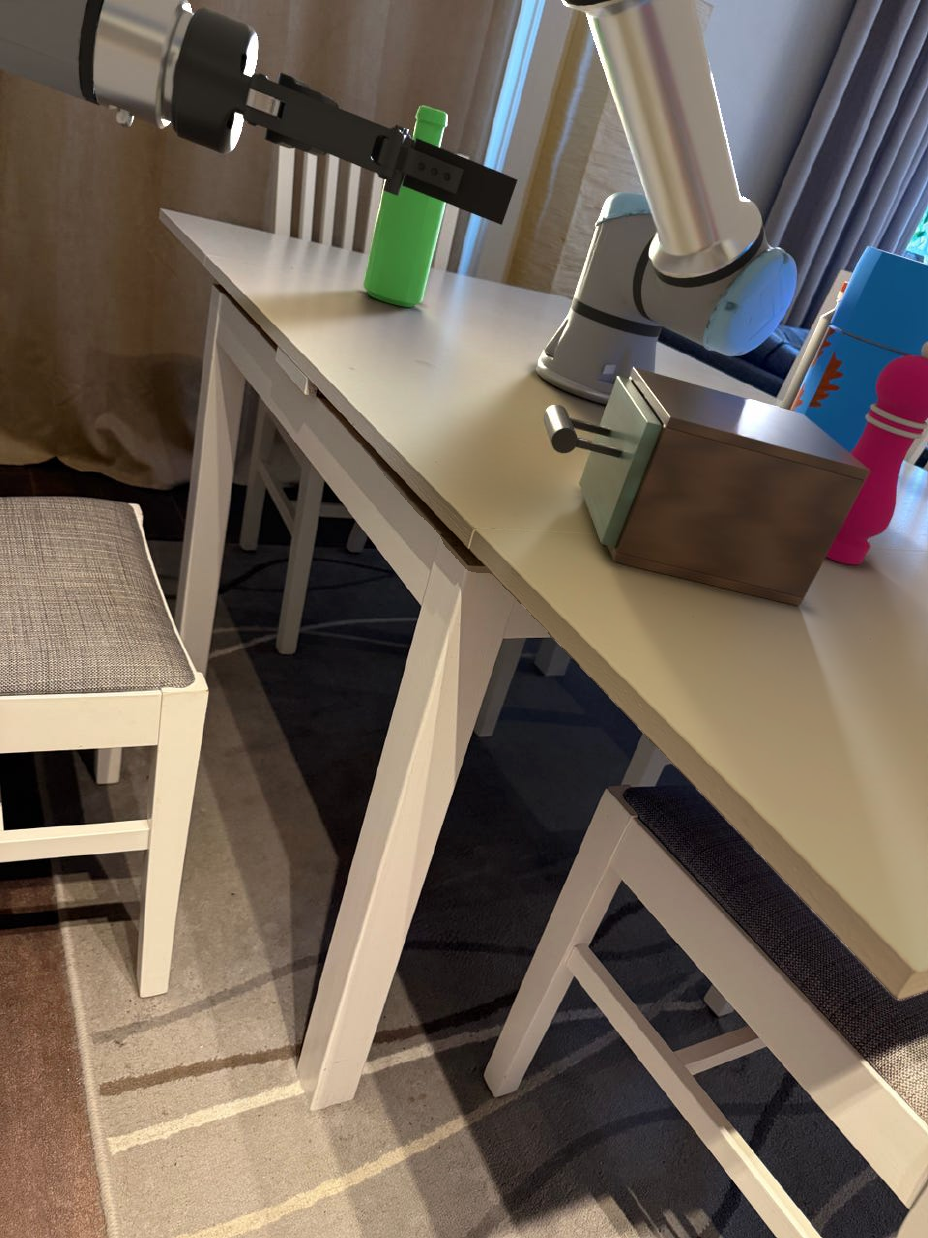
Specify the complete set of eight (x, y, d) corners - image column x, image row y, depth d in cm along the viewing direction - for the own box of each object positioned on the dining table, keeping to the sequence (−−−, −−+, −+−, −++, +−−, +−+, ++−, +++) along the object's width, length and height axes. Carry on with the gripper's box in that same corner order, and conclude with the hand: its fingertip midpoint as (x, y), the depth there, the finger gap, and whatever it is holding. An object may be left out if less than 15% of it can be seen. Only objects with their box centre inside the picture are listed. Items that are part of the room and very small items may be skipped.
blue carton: (851, 496, 104) (966, 276, 92) (857, 524, 94) (985, 283, 83) (761, 463, 105) (861, 243, 94) (758, 488, 96) (869, 246, 84)
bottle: (412, 312, 126) (458, 116, 114) (354, 293, 127) (394, 96, 115) (426, 304, 134) (471, 119, 122) (371, 286, 134) (411, 100, 123)
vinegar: (765, 418, 129) (828, 276, 120) (788, 418, 134) (851, 281, 124) (805, 437, 125) (874, 292, 116) (827, 436, 130) (895, 297, 120)
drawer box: (613, 561, 68) (670, 416, 62) (587, 493, 79) (633, 366, 74) (800, 606, 70) (871, 470, 65) (747, 534, 82) (804, 414, 76)
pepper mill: (783, 524, 87) (882, 319, 78) (851, 542, 88) (957, 342, 79) (805, 555, 81) (916, 337, 72) (878, 575, 82) (998, 361, 72)
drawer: (531, 527, 67) (573, 402, 62) (518, 468, 77) (553, 358, 73) (775, 586, 70) (833, 471, 65) (730, 522, 81) (777, 419, 76)
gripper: (202, 134, 69) (460, 235, 74) (124, 131, 47) (499, 274, 52) (224, 25, 66) (492, 138, 71) (152, -33, 44) (548, 136, 49)
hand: (495, 196), depth 61 cm, fingers open, 13 cm apart
